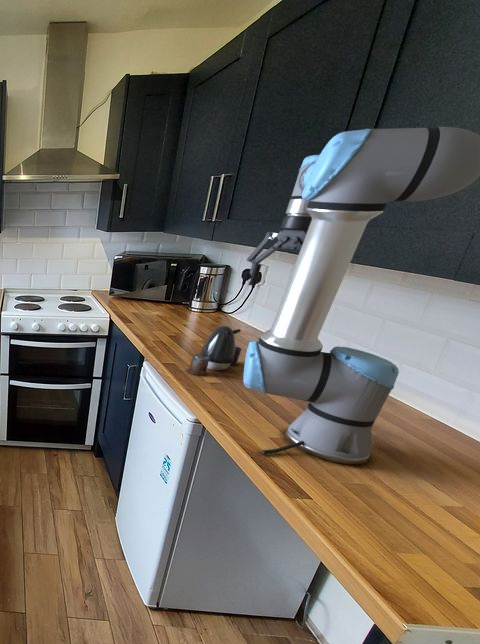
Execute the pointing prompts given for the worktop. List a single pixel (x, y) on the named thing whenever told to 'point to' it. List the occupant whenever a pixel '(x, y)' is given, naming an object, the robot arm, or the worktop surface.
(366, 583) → the worktop surface
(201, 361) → the dark brown cylinder
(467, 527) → the worktop surface
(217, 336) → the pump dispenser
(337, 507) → the worktop surface
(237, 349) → the dark blue cylinder
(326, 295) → the robot arm
